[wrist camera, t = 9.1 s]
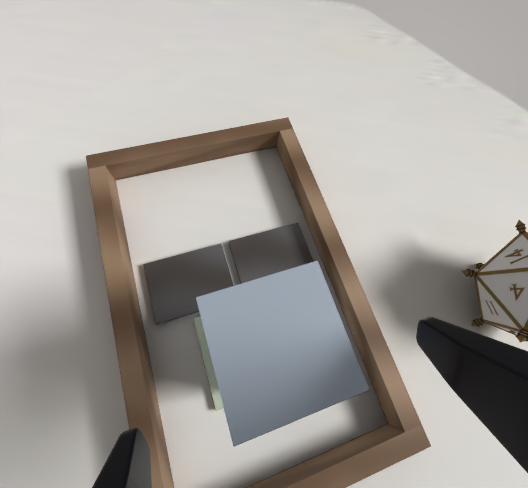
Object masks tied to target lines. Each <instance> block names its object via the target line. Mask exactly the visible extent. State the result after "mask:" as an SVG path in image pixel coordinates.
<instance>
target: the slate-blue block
mask: <svg viewBox="0 0 528 488" xmlns="http://www.w3.org/2000/svg"><path fill="white" fill-rule="evenodd" d="M196 300H197V304H198V308H199V312H200V316H201V320H202V324H203V328H204V332H205V336H206V339H207V343H208V347H209V351H210V355H211V359H212V363H213V367H214V371H215V375H216V379H217V383H218V387H219V391H220V395H221V399H222V402H223V406H224V410H225V414H226V418H227V422H228V426H229V430H230V434H231V438H232V442H233V446H237V445H239V444H241V443H244V442H246V441H248V440H251V439H253V438H256V437H258V436H260V435H263V434H265V433H268V432H270V431H272V430H275V429H277V428H280V427H282V426H284V425H287V424H289V423H292V422H294V421H296V420H299V419H301V418H303V417H306V416H308V415H311V414H313V413H315V412H318V411H320V410H323V409H325V408H327V407H330V406H332V405H335V404H337V403H339V402H342V401H344V400H347V399H349V398H351V397H354V396H356V395H358V394H361V393H363V392H366V391H368V390H369V388H368V385H367V383H366V380H365V378H364V375H363V373H362V370H361V368H360V365H359V363H358V360H357V358H356V355H355V353H354V350H353V348H352V345H351V343H350V340H349V338H348V335H347V333H346V330H345V328H344V325H343V323H342V320H341V318H340V315H339V313H338V310H337V308H336V305H335V303H334V300H333V298H332V295H331V293H330V290H329V288H328V285H327V283H326V280H325V278H324V275H323V273H322V270H321V268H320V265H319V263H318V261H314V262H311V263H308V264H305V265H301V266H298V267H295V268H291V269H288V270H285V271H282V272H278V273H275V274H272V275H268V276H265V277H262V278H258V279H255V280H252V281H249V282H245V283H242V284H239V285H235V286H232V287H229V288H225V289H222V290H219V291H216V292H212V293H209V294H206V295H202V296H199V297H196Z"/></svg>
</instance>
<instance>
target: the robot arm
mask: <svg viewBox="0 0 528 488" xmlns="http://www.w3.org/2000/svg"><path fill="white" fill-rule="evenodd" d="M416 339H417V343H418V345H419V346H420V348H421V349H422V350H423V351H424V353H425V354H426V355H427V357H428V358H429V359H430V361H431V362H432V363H433V365H434V366H435V367H436V369H437V370H438V371H439V373H440V374H441V375H442V377H443V378H444V379H445V381H446V382H447V383H448V384H449V386H450V387H451V388H452V389H453V390H454V392H455V393H456V394H457V395H458V396H459V397H460V398H461V399H462V401H463V402H464V403H465V404H466V405H467V406H468V407H469V408H470V409H471V411H472V412H473V413H474V414H475V415H476V416H477V417H478V418H479V419H480V421H481V422H482V423H483V424H484V425H485V426H486V427H487V428H488V429H489V431H490V432H491V433H492V434H493V435H494V436H495V437H496V438H497V439H498V441H499V442H500V443H501V444H502V445H503V446H504V447H505V448H506V449H507V451H508V452H509V453H510V454H511V455H512V456H513V457H514V458H515V459H516V461H517V462H518V463H519V464H520V465H521V466H522V467H523V468H524V469H525V471H526V472H527V473H528V351H525V350H522V349H520V348H517V347H514V346H511V345H508V344H506V343H503V342H500V341H497V340H495V339H492V338H489V337H486V336H483V335H481V334H478V333H475V332H472V331H470V330H467V329H464V328H461V327H459V326H456V325H453V324H450V323H447V322H445V321H442V320H439V319H436V318H433V317H427V318H425V319H422V320H420V321H419V322H418V328H417V336H416ZM92 488H152V478H151V458H150V448H149V444H148V442H147V440H146V439H145V437H144V435H143V434H142V432H141V430H140V429H139V428H137V427H136V428H133V429H130V430H127V431H125V432H123V433H122V434H121V435H120V436H119V438H118V440H117V442H116V444H115V446H114V448H113V449H112V451H111V453H110V455H109V457H108V459H107V461H106V463H105V465H104V466H103V468H102V470H101V472H100V474H99V476H98V478H97V480H96V481H95V483H94V485H93V487H92Z"/></svg>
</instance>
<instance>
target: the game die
mask: <svg viewBox="0 0 528 488" xmlns="http://www.w3.org/2000/svg"><path fill="white" fill-rule="evenodd" d="M515 227H517V229H516V230H518V231H519V234H518V235H517V236H516V237H515V238H514V239H513V240H511V241H510V242H509V243H508V244H507V245H506V246H505V247H504V248H502V249H501V250H500V251H499V252H498V253H497V254H496V255H494V256H493V257H492V258H491V259H490V260H489V261H488V262H487V263H485V264H482V263H478V264H475V266H476V268H477V269H479V270H478V271H476V272H474V270H470V269H467V270H463V271H462V272H463V273H464V274H465V275H466V277H467V276H469V277H474V278H475V284H476V289H477V295H478V301H479V307H480V313H481V318H480V319H477V320H473V321H474V322H473V324H472V326H478V327H479V326H480V325H482V324H483V323H484V322H485V323H488V324H490V325H492V326H495V327H497V328H500V329H502V330H504V331H507V332H509V333H511V334H514V335H516V337H517V338H518V340H519V341H520V342H524V341H528V233H527V232H526V231H525V228H526V227H525V224H523V223H522V222H521V221H520V220H519V221H518V223H517V225H516V226H515Z"/></svg>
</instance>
